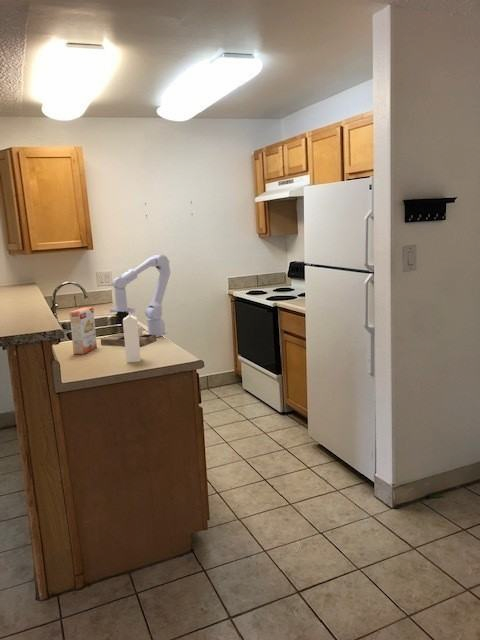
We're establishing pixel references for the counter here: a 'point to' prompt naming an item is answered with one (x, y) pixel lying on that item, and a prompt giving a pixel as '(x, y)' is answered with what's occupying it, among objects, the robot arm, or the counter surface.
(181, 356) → the counter surface
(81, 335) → the cracker box
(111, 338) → the trap board
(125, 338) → the milk
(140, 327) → the block
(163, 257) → the robot arm
